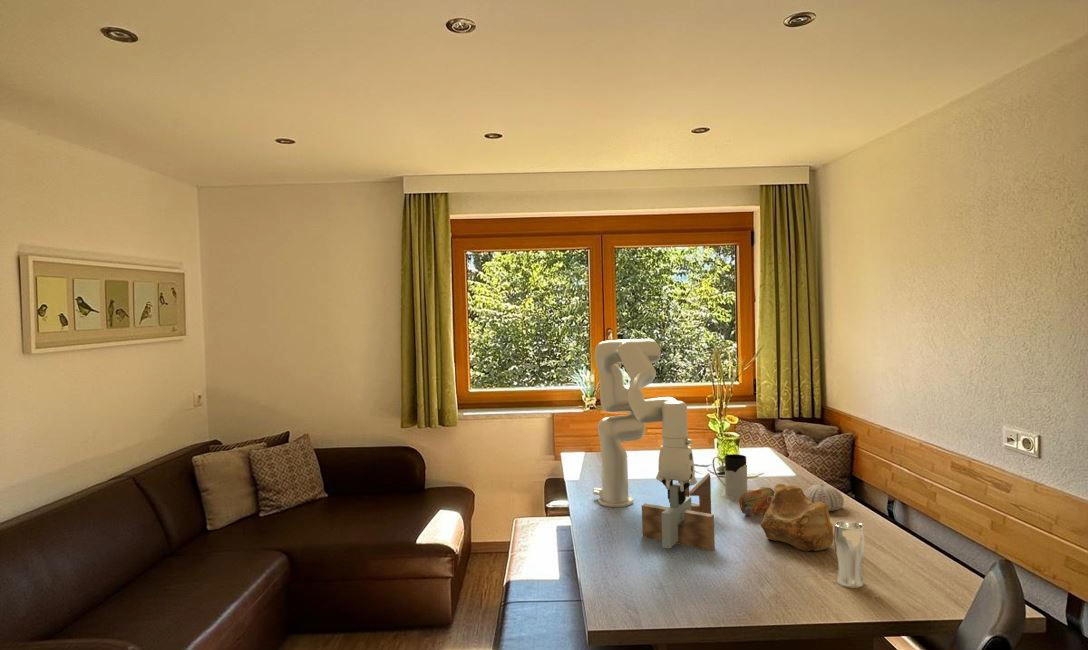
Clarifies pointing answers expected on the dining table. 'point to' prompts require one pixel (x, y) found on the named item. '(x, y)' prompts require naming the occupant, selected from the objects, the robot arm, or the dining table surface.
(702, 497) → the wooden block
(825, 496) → the sea urchin shell
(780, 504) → the rough brown rock
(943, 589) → the dining table surface
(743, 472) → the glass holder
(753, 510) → the tin
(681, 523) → the grey slotted plate
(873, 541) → the dining table surface
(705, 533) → the walnut slotted board
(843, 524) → the beer glass
